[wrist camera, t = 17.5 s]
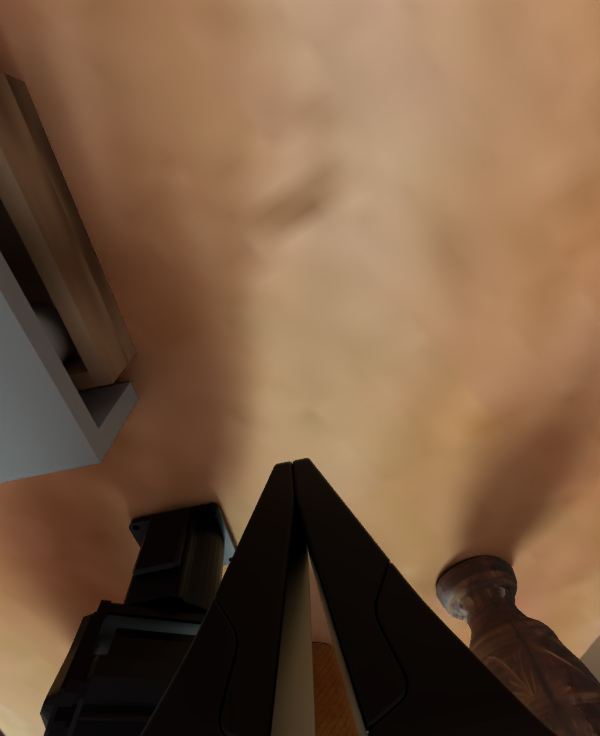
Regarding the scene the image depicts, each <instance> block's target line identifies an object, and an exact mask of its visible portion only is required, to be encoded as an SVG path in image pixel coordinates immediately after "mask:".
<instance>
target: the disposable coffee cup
mask: <svg viewBox="0 0 600 736" xmlns="http://www.w3.org/2000/svg"><path fill="white" fill-rule="evenodd" d="M312 662H313V688H314V715H315V736H359V734H358V731H357V727H356V724H355V720H354V716H353V713H352V709H351V706H350V702H349V698H348V695H347V691H346V687H345V684H344V680H343V677H342V673H341V669H340V666H339V662H338V659H337V655H336V651H335V649H334V648H333V647H331V646H330V645H327V644H322V643H312Z"/></svg>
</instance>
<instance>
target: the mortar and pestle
mask: <svg viewBox="0 0 600 736" xmlns="http://www.w3.org/2000/svg"><path fill="white" fill-rule="evenodd" d="M516 591H517V580H516V577H515V574H514V571H513V569H512V567H511V566H510V565H509V564H507V563H506V562H504V561H503V560H501V559H499V558H496V557H489V556H480V557H476V558H474V559H470V560H466V561H464V562H462V563H460V564H458V565H456V566H455V567H453V568H452V569H450V570H449V571H448V572H446V573H445V574H444V575H443V576H442V577H441V578H440V580H439V582H438V584H437V587H436V595H437V598H438V599H439V601H440V602H441V604H442V605H443V607H444V608H445V609H446V611H447V612H448V613H449V614H450V615H452V616H453V617H455V618H457V619H461V620H464V621H465V622H466V623H467V624H468V625H469V627H470V629H471V632H472V633H471V640H470V647H469V649H470V650H471V651H472V652H473V653H474V654H475V655H476V656H477V657H478V658H479V659H480V660H481V661H482V662H483V663H484V664H485V665H486V666H487V667H488V668H489V669H490V670H491V671H492V672H493V673H494V674H495V675H496V676H497V677H498V678H499V679H500V680H501V681H502V682H503V683H504V684H505V685H506V686H507V687H508V688H509V689H510V691H511V692H512V693H513V694H514V695H515V696H516V697H517V698H518V699H519V700H520V701H521V702H523V703H524V704H525V705H526V706H527V707H528V708H529V709H530V710H531V711H532V712H533V713H534V714H535V715H536V716H537V717H538V718H539V719H540V720H542V721H543V722H544V723H545V724H546V725H547V726H548V727H549V728H551V729H552V730H553V731H554V732H555V733H556V734H558V735H559V736H600V683H599V681H598V680H597V679H596V678H595V677H594V676H593V674H592V673H591V672H590V671H589V669H588V668H587V667H586V666H585V665H584V664H583V663H582V662H581V660H579V659H578V658H577V657H576V656H575V655H574V654H573V653H572V652H571V651H570V650H568V649H567V648H566V647H565V646H564V645H563V644H562V642H561V641H560V640H559V639H558V637H557V635H556V634H555V633H554V632H553V631H552V630H551V629H550V628H549V627H548V626H547V625H545V624H544V623H542V622H540V621H538V620H535V619H532V618H529V617H527V616H525V615H524V614H523V613H522V612H521V611H519V610H518V609H517V607H516V605H515V595H516Z"/></svg>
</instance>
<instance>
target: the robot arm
mask: <svg viewBox="0 0 600 736" xmlns="http://www.w3.org/2000/svg"><path fill="white" fill-rule="evenodd" d="M129 529H130V531H131V533H132V534H133V536H134V538H135V539H136V541H137V543H138V544H139V546H140V551H139V554H138V557H137V560H136V563H135V566H134V569H133V576H132V579H131V582H130V585H129V588H128V591H127V594H126V597H125V600H124V604H118V603H111V601H108V600H101V603H100V605H99V608H98V610H97V612H94V613H93V614H90V615H88V616H85V617H83V619H82V622H81V624H80V627H79V629H78V632H77V634H76V636H75V639H74V641H73V643H72V646H71V648H70V650H69V652H68V655H67V657H66V659H65V661H64V663H63V665H62V667H61V669H60V671H59V673H58V675H57V677H56V679H55V681H54V683H53V684H52V686H51V688H50V690H49V692H48V694H47V696H46V699H45V701H44V703H43V706H42V709H41V712H40V715H41V717H42V720H43V723H44V725H45V728H46V730H45V733H44V736H315V715H314V688H313V662H312V635H311V608H310V581H309V559H308V552H309V556H310V561H311V565H312V568H313V572H314V576H315V579H316V583H317V586H318V590H319V594H320V597H321V601H322V604H323V608H324V612H325V615H326V619H327V622H328V626H329V630H330V633H331V637H332V641H333V644H334V648H335V651H336V655H337V659H338V662H339V666H340V669H341V673H342V677H343V680H344V684H345V687H346V691H347V695H348V698H349V702H350V706H351V709H352V713H353V716H354V720H355V724H356V727H357V731H358V734H359V736H559V735H558V734H556V733H555V732H554V731H553V730H552V729H551V728H549V727H548V726H547V725H546V724H545V723H544V722H543V721H542V720H540V719H539V718H538V717H537V716H536V715H535V714H534V713H533V712H532V711H531V710H530V709H529V708H528V707H527V706H526V705H525V704H524V703H523V702H521V701H520V700H519V699H518V698H517V697H516V696H515V695H514V694H513V693H512V692H511V691H510V689H509V688H508V687H507V686H506V685H505V684H504V683H503V682H502V681H501V680H500V679H499V678H498V677H497V676H496V675H495V674H494V673H493V672H492V671H491V670H490V669H489V668H488V667H487V666H486V665H485V664H484V663H483V662H482V661H481V660H480V659H479V658H478V657H477V656H476V655H475V654H474V653H473V652H472V651H471V650H470V649H469V648H468V647H467V646H466V645H465V644H464V643H463V642H462V641H461V640H460V639H459V638H458V637H457V636H456V635H455V634H454V633H453V632H452V631H451V630H450V629H449V628H448V627H447V626H446V625H445V623H444V622H443V621H442V620H441V619H440V618H439V617H438V616H437V615H436V614H435V613H434V612H433V611H432V610H431V609H430V607H429V606H428V605H427V604H426V603H425V602H424V601H423V600H422V599H421V597H420V596H419V595H418V594H417V593H416V591H415V590H414V589H413V588H412V587H411V585H410V584H409V583H408V582H407V581H406V580H405V578H404V577H403V576H402V575H401V573H400V572H399V571H398V570H397V568H396V567H395V566H394V564H393V563H390V560H389V558H388V557H387V556H386V555H385V553H384V552H383V551H382V550H381V548H380V547H379V546H378V545H377V543H376V542H375V541H374V540H373V538H372V537H371V536H370V535H369V533H368V532H367V531H366V529H365V528H364V527H363V526H362V524H361V523H360V522H359V521H358V519H357V518H356V517H355V516H354V514H353V513H352V512H351V511H350V509H349V508H348V507H347V505H346V504H345V503H344V502H343V500H342V499H341V498H340V497H339V495H338V494H337V493H336V492H335V490H334V489H333V488H332V487H331V485H330V484H329V483H328V482H327V480H326V479H325V478H324V476H323V475H322V474H321V473H320V471H319V470H318V469H317V468H316V466H315V465H314V464H313V463H312V461H311V460H310V459H309V458H304V459H299V460H295V461H293V464H292V462H284V463H279V464H276V465H275V466H274V468H273V470H272V472H271V475H270V477H269V479H268V481H267V483H266V485H265V488H264V490H263V492H262V494H261V496H260V498H259V501H258V503H257V505H256V507H255V509H254V511H253V514H252V516H251V518H250V520H249V522H248V524H247V527H246V529H245V531H244V533H243V535H242V537H241V540H240V542H239V544H238V546H237V548H236V546H235V544H234V541H233V539H232V536H231V534H230V531H229V529H228V526H227V524H226V521H225V519H224V516H223V514H222V511H221V508H220V506H219V505H218V504H216V503H210V504H205V505H200V506H195V507H190V508H185V509H180V510H175V511H170V512H165V513H160V514H155V515H150V516H145V517H140V518H135V519H133V520H132V521H131V523H130V525H129ZM307 548H308V549H307ZM227 564H229V566H228V568H227V570H226V572H225V574H224V576H223V579H222V570H223V565H227Z"/></svg>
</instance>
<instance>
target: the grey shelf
mask: <svg viewBox="0 0 600 736" xmlns="http://www.w3.org/2000/svg"><path fill="white" fill-rule="evenodd" d="M137 400H138V397H137V394H136V392H135V390H134V388H133V386H132V384H131V382H126V383H121V384H116V385H111V386H106V387H100V388H95V389H90V390H85V391H80V392H78V391H77V389H76V388H75V386H74V384H73V382H72V380H71V379H70V377H69V375H68V373H67V371H66V369H65V368H64V366H63V364H62V362H61V360H60V359H59V357H58V355H57V353H56V351H55V349H54V348H53V346H52V344H51V342H50V340H49V339H48V337H47V335H46V333H45V331H44V330H43V328H42V326H41V324H40V322H39V320H38V319H37V317H36V315H35V313H34V311H33V310H32V308H31V306H30V304H29V302H28V301H27V299H26V297H25V295H24V293H23V291H22V290H21V288H20V286H19V284H18V282H17V281H16V279H15V277H14V275H13V273H12V272H11V270H10V268H9V266H8V264H7V262H6V261H5V259H4V257H3V255H2V253H1V252H0V483H3V482H8V481H13V480H18V479H23V478H28V477H33V476H38V475H44V474H49V473H54V472H59V471H64V470H69V469H74V468H79V467H84V466H89V465H94V464H99V463H101V462H102V460H103V458H104V457H105V455H106V453H107V452H108V450H109V448H110V447H111V445H112V443H113V441H114V440H115V438H116V436H117V435H118V433H119V431H120V429H121V428H122V426H123V424H124V423H125V421H126V419H127V418H128V416H129V414H130V412H131V411H132V409H133V407H134V406H135V404H136V402H137Z"/></svg>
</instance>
